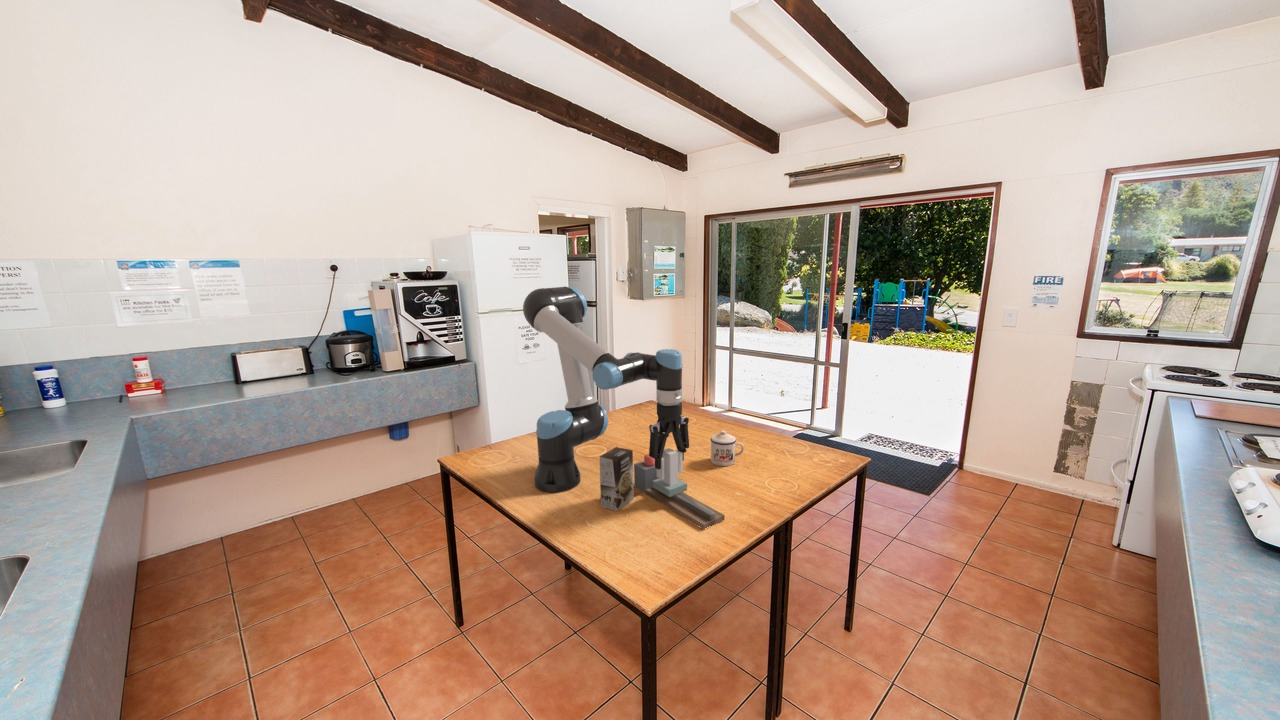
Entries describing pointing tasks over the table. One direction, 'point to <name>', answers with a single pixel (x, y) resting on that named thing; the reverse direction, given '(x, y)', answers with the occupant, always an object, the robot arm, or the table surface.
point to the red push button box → (644, 476)
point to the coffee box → (616, 478)
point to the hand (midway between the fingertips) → (669, 474)
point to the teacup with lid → (724, 449)
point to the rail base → (688, 508)
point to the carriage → (670, 475)
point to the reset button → (649, 461)
